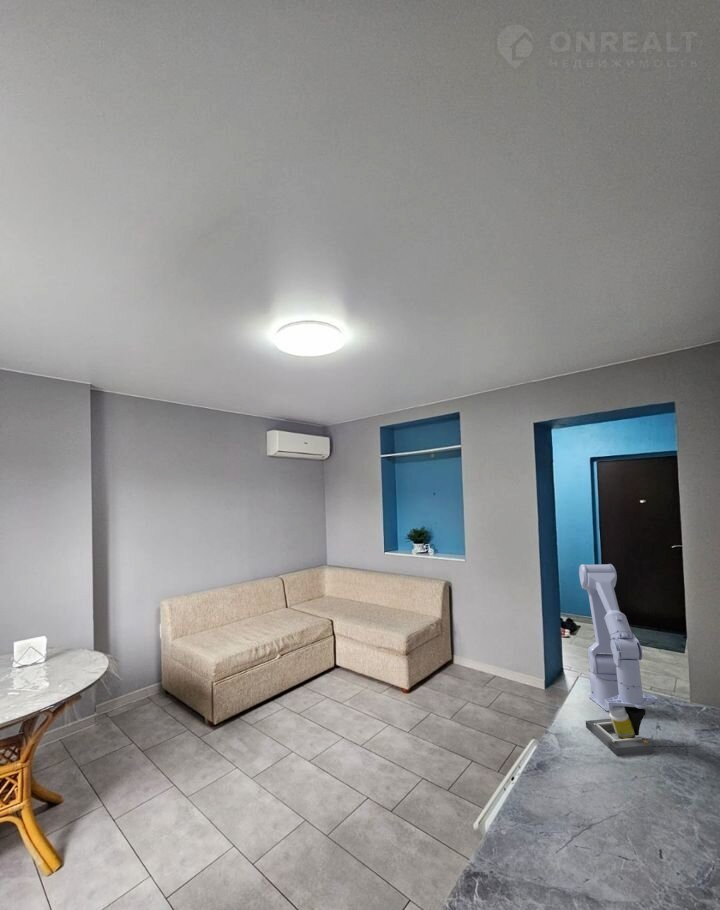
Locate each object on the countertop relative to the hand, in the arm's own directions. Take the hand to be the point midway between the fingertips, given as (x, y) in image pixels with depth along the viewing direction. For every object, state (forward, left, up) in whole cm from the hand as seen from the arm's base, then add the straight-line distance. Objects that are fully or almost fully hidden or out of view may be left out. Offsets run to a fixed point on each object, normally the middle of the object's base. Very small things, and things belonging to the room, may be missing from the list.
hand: (634, 733), depth 115 cm
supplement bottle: (0, -3, -1) cm, 3 cm away
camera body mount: (0, -5, -1) cm, 5 cm away
